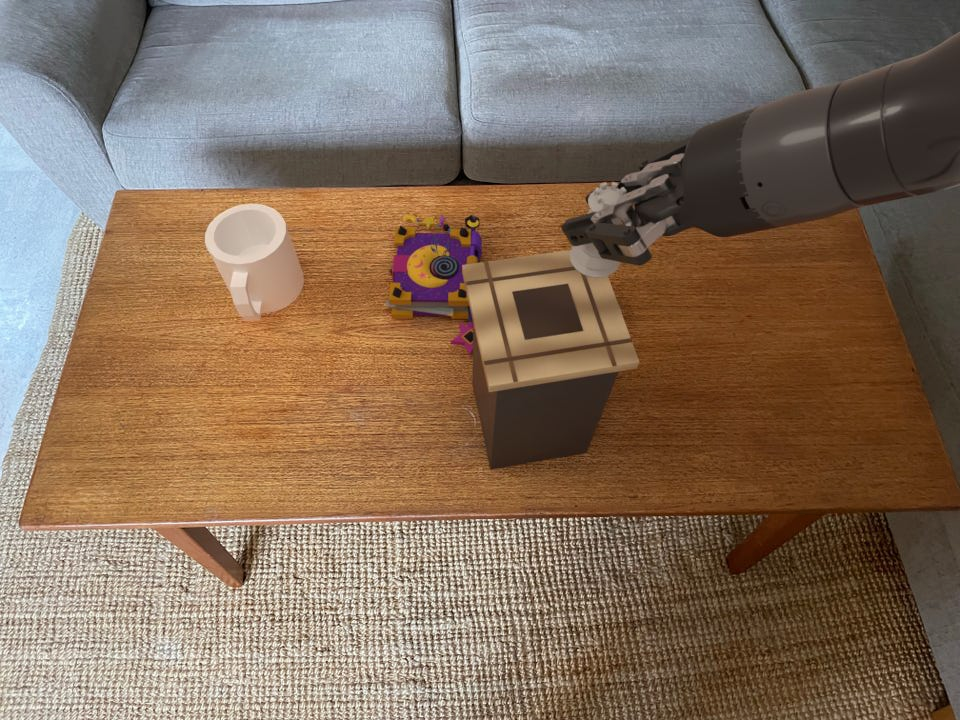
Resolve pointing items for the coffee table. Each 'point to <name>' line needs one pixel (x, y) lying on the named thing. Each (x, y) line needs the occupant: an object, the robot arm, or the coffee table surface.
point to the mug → (255, 259)
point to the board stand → (538, 416)
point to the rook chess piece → (587, 254)
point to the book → (434, 273)
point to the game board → (545, 321)
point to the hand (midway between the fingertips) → (581, 219)
